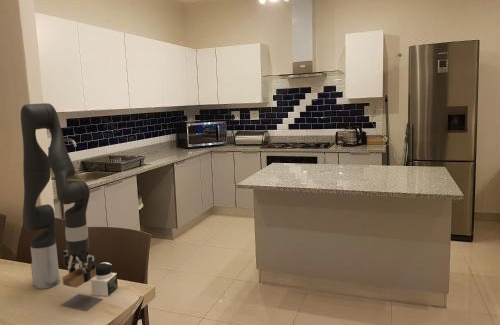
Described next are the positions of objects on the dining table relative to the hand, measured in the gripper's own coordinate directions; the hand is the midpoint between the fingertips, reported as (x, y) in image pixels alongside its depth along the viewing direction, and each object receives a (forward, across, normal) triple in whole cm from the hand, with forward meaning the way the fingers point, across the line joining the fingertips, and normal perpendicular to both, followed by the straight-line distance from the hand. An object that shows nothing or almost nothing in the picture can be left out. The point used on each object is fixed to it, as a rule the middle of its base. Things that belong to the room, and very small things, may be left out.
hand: (80, 279), depth 147 cm
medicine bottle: (+10, +3, +10) cm, 14 cm away
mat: (+10, +1, 0) cm, 10 cm away
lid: (0, 0, 0) cm, 0 cm away
